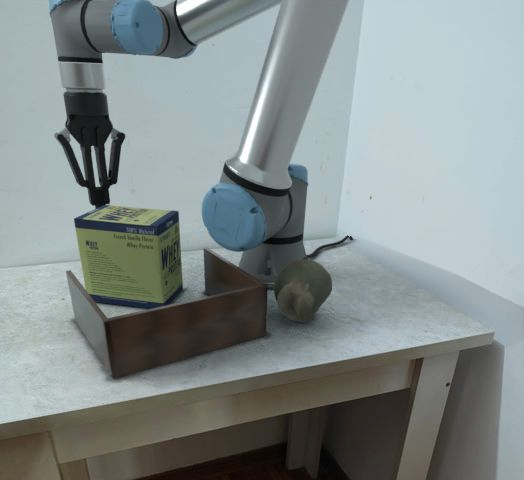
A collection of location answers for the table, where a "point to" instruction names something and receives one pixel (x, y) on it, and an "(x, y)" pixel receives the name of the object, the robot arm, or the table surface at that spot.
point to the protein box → (130, 255)
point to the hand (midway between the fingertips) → (102, 220)
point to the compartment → (176, 321)
